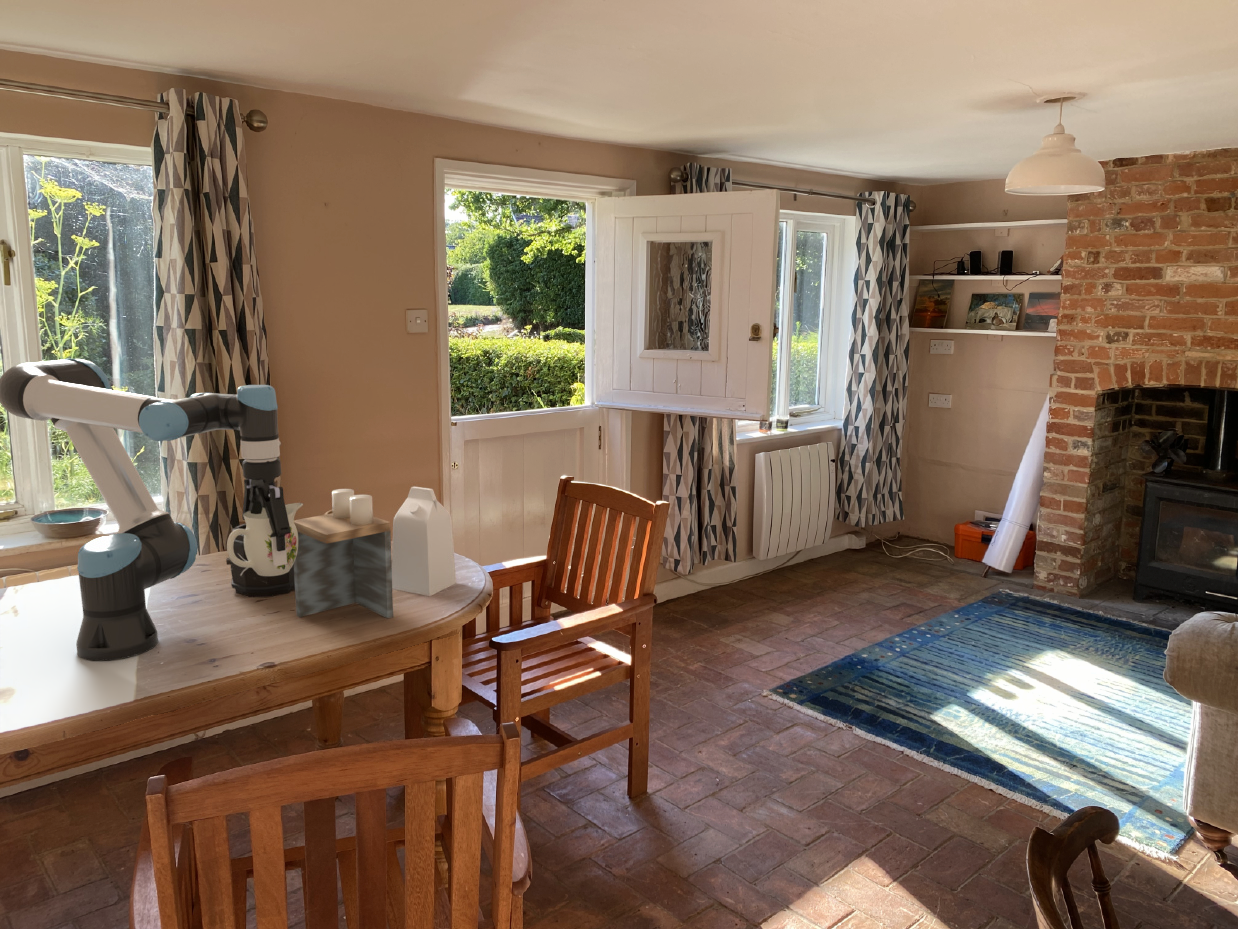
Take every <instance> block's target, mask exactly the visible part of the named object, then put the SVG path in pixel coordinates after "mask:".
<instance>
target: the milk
mask: <svg viewBox="0 0 1238 929" xmlns="http://www.w3.org/2000/svg"><path fill="white" fill-rule="evenodd" d="M453 534H454V533H453V521H452V515H451V513H450V512H449V511H448V509H447V508H446V507H444V506H443V504H442V503H441V502H440V501H439V500H437V497H436V494H435V491H434V489H433V488H428V487H420V486H411V487H410V489H409V492H408V494H407V498H405V500H404V502H403V503H402V504H401V506H400V507H399V508H398V510H397V512H396V513H395V515H394V516H393V520H392V541H391V562H392V590H396V591H402V592H406V593H411V594H417V595H421V596H422V595H423V596H428V597H430V596H433V595H436V594H437V593H439V592H441V591H443V590H446V589H447V588H449V587H452V586H453V585H456V584H457V577H456V576H457V575H456V562H455V550H454V549H455V548H454V536H453Z"/></svg>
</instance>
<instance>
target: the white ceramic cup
mask: <svg viewBox="0 0 1238 929" xmlns="http://www.w3.org/2000/svg"><path fill="white" fill-rule="evenodd" d="M349 501H350V524H352V525H369V524H372V523H373V516H374V512H373V495H370V494H354V496H351V497H349Z"/></svg>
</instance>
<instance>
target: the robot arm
mask: <svg viewBox="0 0 1238 929" xmlns="http://www.w3.org/2000/svg"><path fill="white" fill-rule="evenodd" d="M236 391H237V392H236V394H231V393H216V392H215V393H214V392H213V393H212V392H209V391H208V392H198V393H197V392H196V393H193V394H191V395H190V396H189V397H184V398H178V399H169V398H163V397H156V396H151V395H144V394H139V393H133V392H132V393H131V392H125V391H122V390H121V391H120V390H115V389H114V390H112V389H111V384H110V382H109V379H108V376H107V375H106V373H105V372H104V371H103V369H101V367H100V366H98V365H96V364H95V363H94V362H92V361H89V360H86V359H81V358H60V359H57V360H56V359H55V360H46V361H35V362H24V363H20V364H15V365H14V366H11V367H10V368H9V369H7V370H5V372H4V373H3V374H2V375H1V376H0V405H1V406H2V407H3V408H4V409H5V410H6V411H7V412H8V413H10V414H12V415H14V416H16V417H19V418H22V419H29V420H35V421H40V422H41V421H42V422H43V421H44V422H45V421H49V420H50V421H51V423H52V425H53V426H54V428H55V429H57V430H61V431H63V432H66V434H67V436H68V437H69V440H70V441H71V443H72V445H73V447H74V448H75V450H76V451H77V454H78V455H79V457H80V459H81V460H82V463H83V464H84V466H85V468H86V470H87V471H88V473H89V475H90V477H91V479H92V481H93V482H94V484H95V485H96V488H97V489H98V491H99V493H100V495H101V497H102V498H103V500H104V502H105V504H106V506H107V508H108V509H109V511H110V512H111V515H112V516H113V518H114V520H115V521H116V523H117V524H118V528H119V529H118V531H117V533H111V534H109V535H102V536H100V537H96V538H93V539H92V540H89V541H88V542H86V543H85V544H83V545H82V546H81V547H80V548H79V551H78V553H77V567H76V568H77V572H78V579H79V581H78V582H79V589H80V597H81V605H82V620H81V625H80V628H79V631H78V636H77V639H76V654H77V656H78V657H80V658H82V659H84V660H88V661H89V660H90V661H112V660H113V661H114V660H120V659H126V658H129V657H133V656H137V655H140V654H142V653H145V652H147V651H149V650H151V649H153V648H154V647H156V645H157V644H158V642H159V638H158V635H159V634H158V630H157V628H156V626H155V624H154V622H153V619H152V616H151V615H150V614H149V611H148V609H147V605H146V604H147V603H146V594H145V593H146V591H145V590H147V589H148V588H152V587H154V586H156V585H158V584H160V583H163V582H166V581H167V580H171V579H175V578H177V577H178V576H181V574H184V573H185V572H186V571H188V570H189V569H190V568H191V567H193V565H194V563H195V562H196V557H197V554H198V543H197V539H196V535H195V533H194V532H193V531H192V529H191V528H190V527H189V526H187V525H184V523H181V522H176V521H174V519H173V518H172V516H171V514H170V512H168V511H165V510H162V509H159V507H158V505H157V504H156V502H155V501H154V498H153V497H152V494H150V492H149V490H148V488H147V486H146V485H145V483H144V481H143V479H142V477H141V476H140V473H139V471H138V470H137V468H136V467H135V464H134V463H133V461H132V459H131V457H130V455H129V454H128V452H127V450H126V448H125V447H124V445H123V443H122V441H121V440H120V437H119V435H118V434H117V432H116V430H123V431H129V432H135V433H141V434H143V435H145V436H146V437H147V438H149V440H152V441H154V442H164V441H166V442H169V441H171V442H172V441H174V440H177V439H181V438H185V437H189V436H194V435H198V434H204V433H207V432H212V431H216V430H228V431H229V430H230V431H231V430H232V431H239V436H240V454H241V458H242V459H244V460H243V461H242V463H241V464H242V465H241V466H242V476H243V478H244V480H243V483H244V484H243V485H244V486H243V487H244V493H243V506H242V520H243V521H245V519H244V513H246V512H248V511H251V514H261V512H262V508H265V510H266V513H267V516H268V518H269V523H270V526H271V529H272V532H273V533H272V534H271V535H270V537H271V541H272V556H273V566H274V567H275V566H280V565H285V564H287V554H286V539H285V535H286V534H289V533H290V532H291V531H290V526H289V521H288V516H287V512H286V507H285V505H286V503H285V496H284V488H283V487H282V486H278V487H277V486H276V482H275V479H276V478H280V476H282V463H281V459H280V458H279V457H280V456H281V453H280V452H281V450H280V446H281V445H282V442H281V441H280V437H279V436H280V435H279V423H278V421H279V419H278V418H279V417H278V414H279V413H278V408H279V407H278V404H277V403H278V402H277V393H276V389H275V387H273V386H272V385H269V384H248V385H247V384H246V385H240V386H239V387H238V388H237V390H236ZM115 429H116V430H115Z"/></svg>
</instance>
